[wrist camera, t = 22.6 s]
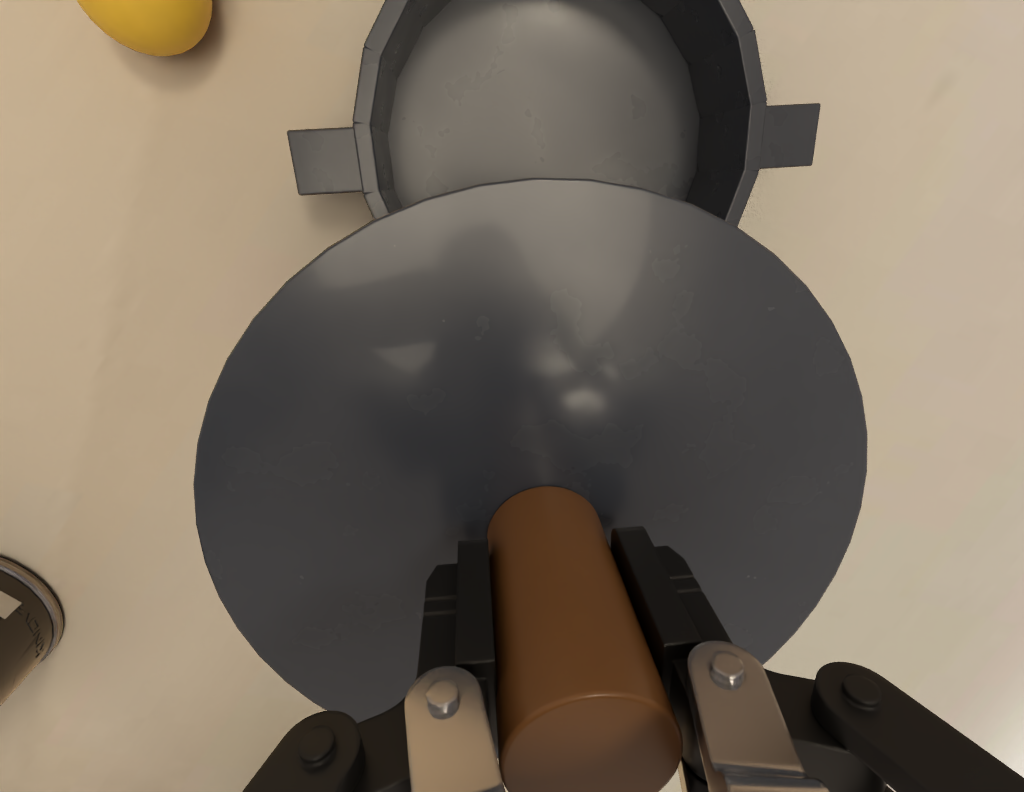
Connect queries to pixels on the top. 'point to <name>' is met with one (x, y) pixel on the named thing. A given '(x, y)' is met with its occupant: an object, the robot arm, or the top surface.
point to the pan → (558, 103)
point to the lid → (530, 457)
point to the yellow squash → (152, 23)
